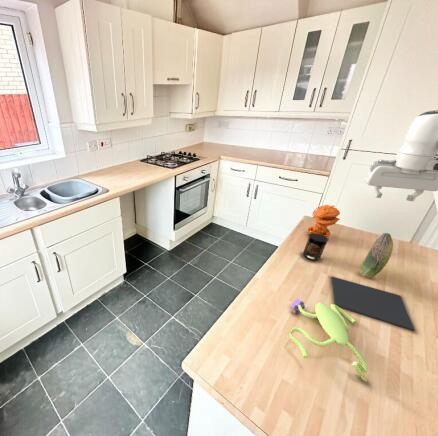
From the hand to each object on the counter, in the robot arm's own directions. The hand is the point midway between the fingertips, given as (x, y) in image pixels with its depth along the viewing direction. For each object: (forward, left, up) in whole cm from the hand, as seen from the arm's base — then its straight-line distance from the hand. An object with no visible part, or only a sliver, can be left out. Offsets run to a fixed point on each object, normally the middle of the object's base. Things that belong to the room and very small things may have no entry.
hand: (393, 198), depth 89 cm
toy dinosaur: (+15, -14, -30) cm, 36 cm away
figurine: (+15, +49, -30) cm, 60 cm away
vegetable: (-1, +10, -30) cm, 31 cm away
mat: (+1, +25, -30) cm, 39 cm away
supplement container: (+18, +6, -30) cm, 35 cm away
